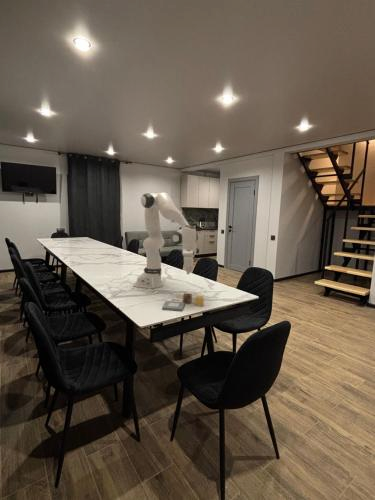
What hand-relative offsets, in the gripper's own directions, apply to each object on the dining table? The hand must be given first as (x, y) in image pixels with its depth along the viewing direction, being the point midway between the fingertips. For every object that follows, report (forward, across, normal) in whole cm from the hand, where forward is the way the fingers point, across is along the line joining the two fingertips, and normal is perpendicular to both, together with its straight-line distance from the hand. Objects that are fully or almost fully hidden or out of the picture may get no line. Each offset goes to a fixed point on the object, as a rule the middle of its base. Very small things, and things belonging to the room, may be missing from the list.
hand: (189, 272), depth 171 cm
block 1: (+19, +1, -1) cm, 19 cm away
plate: (+19, +12, -8) cm, 24 cm away
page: (+19, 0, -9) cm, 21 cm away
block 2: (+19, +4, +7) cm, 21 cm away
